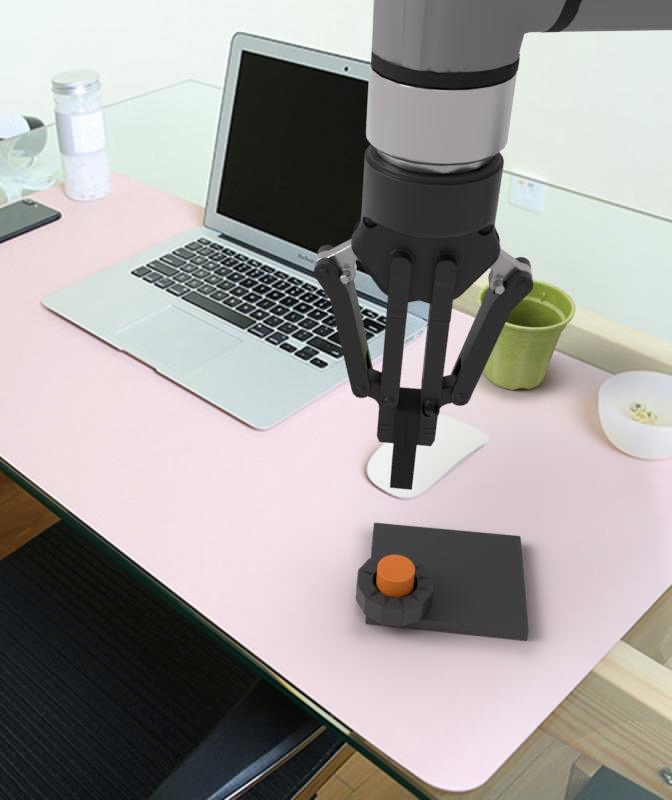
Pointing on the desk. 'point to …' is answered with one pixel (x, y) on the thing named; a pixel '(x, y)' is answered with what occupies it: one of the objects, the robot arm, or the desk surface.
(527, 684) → the desk surface
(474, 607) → the dark piece
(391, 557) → the button
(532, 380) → the plant pot
